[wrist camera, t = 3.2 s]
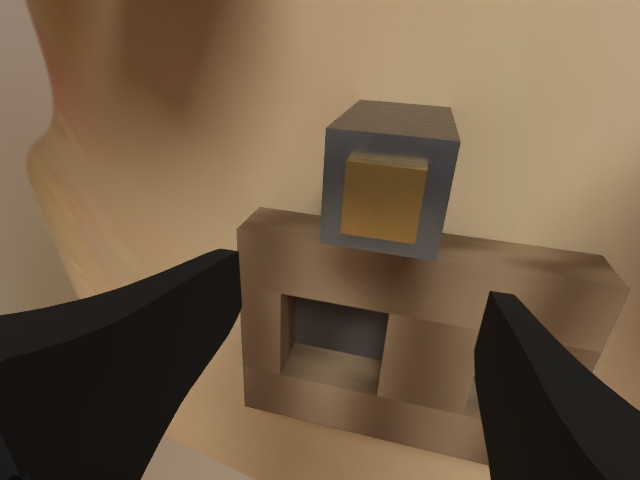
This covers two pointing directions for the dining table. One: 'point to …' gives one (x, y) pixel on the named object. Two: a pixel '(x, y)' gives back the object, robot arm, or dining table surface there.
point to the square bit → (388, 178)
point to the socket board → (398, 326)
